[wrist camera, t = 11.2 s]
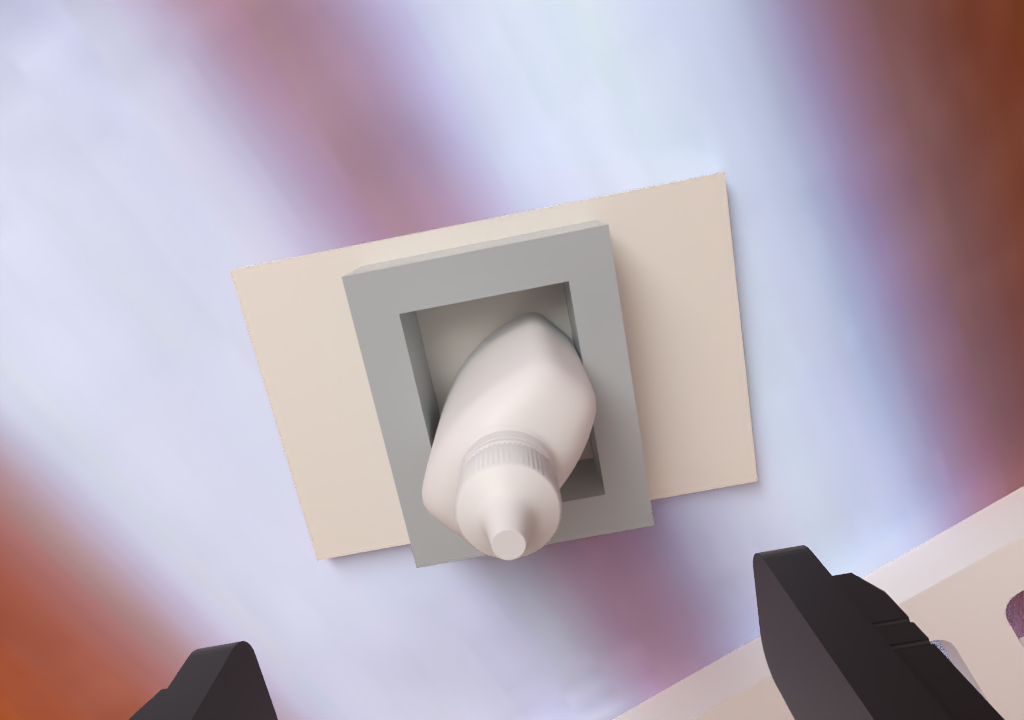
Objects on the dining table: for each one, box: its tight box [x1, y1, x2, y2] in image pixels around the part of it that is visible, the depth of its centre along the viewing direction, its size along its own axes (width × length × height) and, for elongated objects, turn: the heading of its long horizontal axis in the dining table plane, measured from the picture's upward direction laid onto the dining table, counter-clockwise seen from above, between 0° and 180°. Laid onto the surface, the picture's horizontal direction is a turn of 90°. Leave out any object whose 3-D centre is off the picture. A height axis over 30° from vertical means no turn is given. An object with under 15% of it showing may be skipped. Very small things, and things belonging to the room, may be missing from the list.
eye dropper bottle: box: [422, 312, 596, 560], centre depth 19 cm, size 4×6×12 cm
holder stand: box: [230, 172, 757, 568], centre depth 24 cm, size 12×18×4 cm, turn 101°
